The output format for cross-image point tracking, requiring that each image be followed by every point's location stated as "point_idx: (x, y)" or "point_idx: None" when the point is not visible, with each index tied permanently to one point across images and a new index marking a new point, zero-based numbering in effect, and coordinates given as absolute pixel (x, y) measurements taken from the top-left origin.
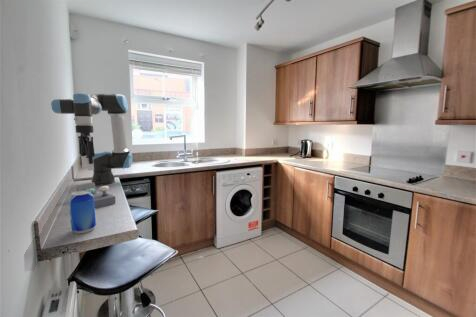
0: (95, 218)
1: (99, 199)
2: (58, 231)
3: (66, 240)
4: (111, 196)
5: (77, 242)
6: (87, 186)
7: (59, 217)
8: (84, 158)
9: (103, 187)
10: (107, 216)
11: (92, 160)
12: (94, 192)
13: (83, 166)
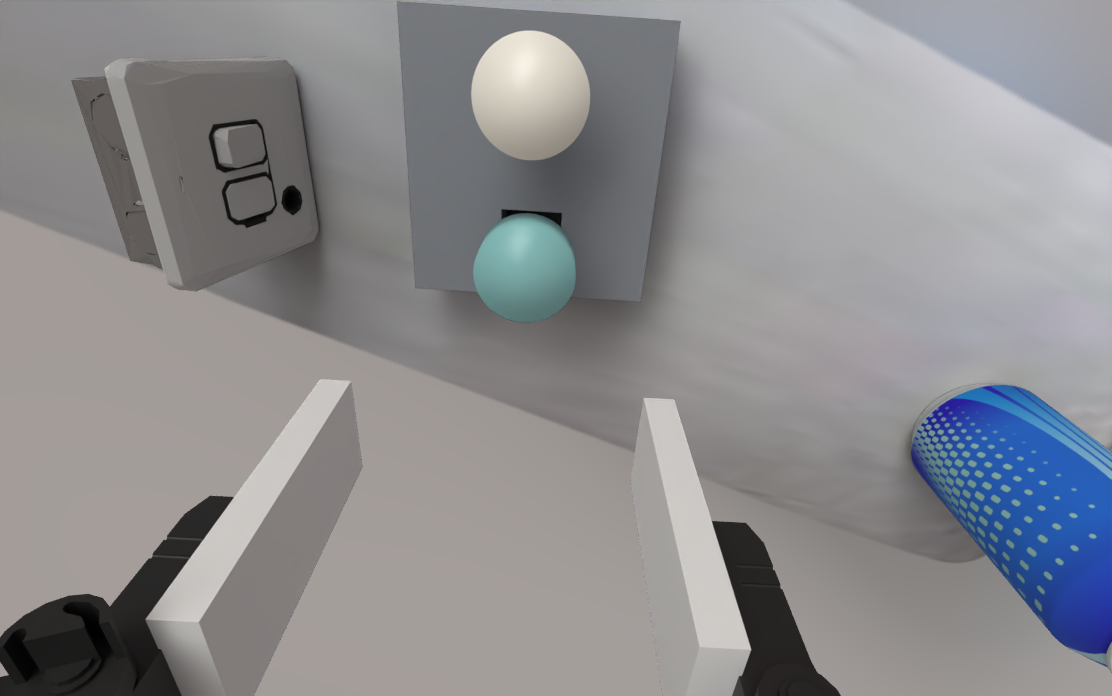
0: (1059, 414)
1: (643, 200)
2: (841, 500)
3: None
4: (645, 53)
5: None
6: (190, 168)
7: (618, 441)
8: (259, 613)
9: (565, 124)
10: (915, 251)
11: (782, 600)
12: (563, 231)
13: (346, 481)
